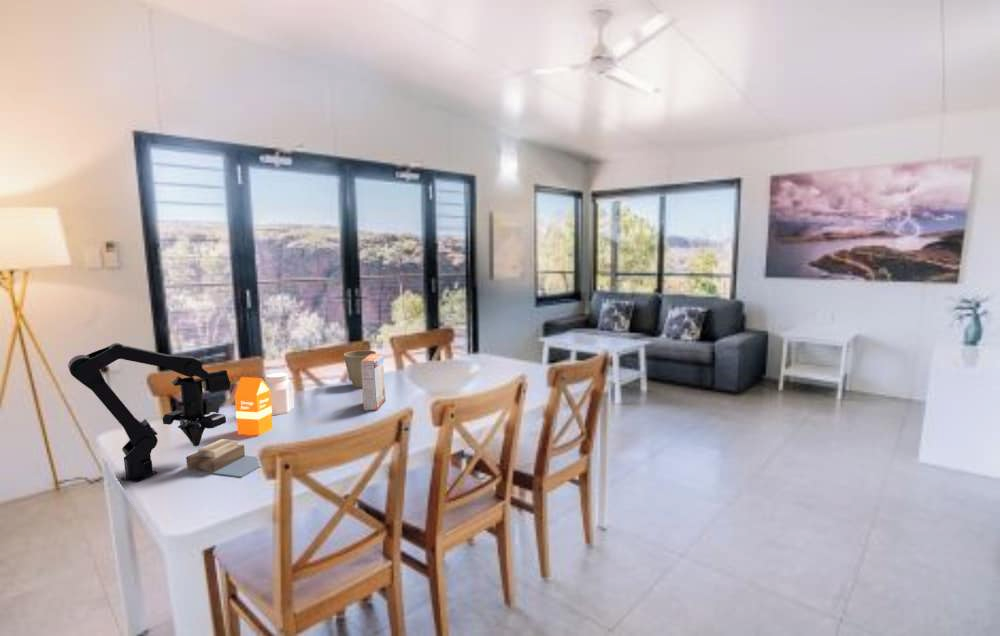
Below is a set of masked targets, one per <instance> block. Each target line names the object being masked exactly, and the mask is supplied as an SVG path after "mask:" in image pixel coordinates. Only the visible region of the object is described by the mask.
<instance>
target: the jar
mask: <svg viewBox="0 0 1000 636" xmlns="http://www.w3.org/2000/svg"><path fill="white" fill-rule="evenodd" d="M265 379H266V382H265V383H266V385H267V387H268V388H269V390H270V398H271V409H272V416H277V415H279V416H280V415H284V414H288V413H289V412H290V411H292V410H294V409H295V402H294V401H295V399H294V384H293V382H292V381H291V380H289V374H288V372H274V373H269V374H267V375H266V376H265Z"/></svg>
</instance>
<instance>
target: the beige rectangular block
mask: <svg viewBox="0 0 1000 636" xmlns="http://www.w3.org/2000/svg"><path fill="white" fill-rule="evenodd" d="M238 445H239V444H238V440H234V439H233V440H232V439H226V438H224V439H223V438H221V439H219V440H217V441H214V442H212V443H209V444H207V445H206V446H204V447H201V448H198V450H197V452H198V456H201V457H210V458H216V457H218V456H220V455H222V454H224V453H226V452H228V451H230V450H232V449H234V448H236V447H238Z"/></svg>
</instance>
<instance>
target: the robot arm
mask: <svg viewBox="0 0 1000 636" xmlns="http://www.w3.org/2000/svg"><path fill="white" fill-rule="evenodd" d="M118 360H124V361H129V362H130V361H131V362H135V363H138V364H139V363H140V364H145V365H150V366H153V367H154V366H156V367H160V368H164V369H167V370H170V371H172V372H175V373H177V374H179V375H182V376H185V377H180V376H179V375H177V376H176V378H175V379H174V380H172V381H171V384H172V385H173V386H175V387H178V386H180V398H181V401H179V402H178V403H177V404H178V406H181V408H182V410H180V409H179V410H174V411H171V412H168V413H166V414H164V415H163V417H162V425H169V426H170V425H172V424H173V422H175V421H176V422H177V421H178V422H179V425H178V426H177V428H178V429H180V430H181V431H182V432H183V433H184V434H185V436H186V437H187V438H188V440H189V441H190V442H191V444H192V445H193V446H194V447H199V446H200V443H201V441H202V438H203V433H204V432H205V430H206V429H214V428H216V427H219V426H221V425H223V424H226V423H227V419H226V415H224V413H219V412H220V407H221V403H220V402H219V403H217V402H209V401H208V398H207V397H204V392H207V393H208V394H209V395H212V394H217V393H223V392H228V391H229V392H230V390H231V386H232V385H231V380H230V377H229V375H228V370H226V369H220V370H217V371H207V370H205V369H204V368H203V363H202V361H200V359H198V358H196V357H195V356H192V355H189V354H187V355H186V354H167V353H161V352H156V351H152V350H147V349H144V348H143V349H142V348H140V347H134V346H130V345H125V344H121V343H120V342H119V343H118V342H114V343H112V344H110V345H108V346H106V347H104V348H101V349H99V350H95V351H93V352H90V353H88V354H86V355H85V354H78V355H76V356H74V357H73V358H71V359H70V360H69V361H68V364H67V368H68V371H69V373H70V374H71V377H73V378H75V380H77V381H78V382H79V383H81V384H83V386H84V387H86V388H87V389H89V390H90V391H92V392H93V394H94V395H95V396H96V397H97V398H98V400H99V401H100V402H101V403H102V404H103V406H104V407H105V408H106V409H107V410H108V411H109V412H110V414H111V415H112V416H113V417H114V418H115V420H117V422H118V423H119V424H120V425H121V426H122V428H123V430H124V431H125V434H126V436H127V437H128V439H129V440H128V441H127V442H126V443H125V444H124V445H123V446H122V452H123V454H124V455H125V456H123V461H124V463H123V464H124V471H125V475H124V476H122V477H120V480H121V481H129V482H134V483H136V482H137V483H138V482H140V481H143V480H145V479H147V478H149V477H151V476H153V475H155V474H158V470H153V461H152V458H151V457H152V456H151V454H152V450H154V449H155V448H156V446H157V445H158V438H157V435H158V433H157V431H156V430H155V428H153V427H152V426H151V425H150V423H149V422H148V420H147V419H146V418H145V419H143V420H142V421H141V420H139V419H137V417H135V415H134V414H132V412H131V411H130V410H129V408H128V407H127V406H126V404H125V403H123V401H122V400H121V399H120V398H119V397H118V395H117V394H116V393H115V391H114V390H113V389H112V388H111V387H110V385H109V384H108V383H107V382H106V380H105V378H104V376H103V374H102V372H101V369H103V368H105V367H107V366H109V365H111V364H112V363H114V362H116V361H118ZM194 377H198V378H194ZM203 390H204V391H203ZM211 413H212V414H211Z"/></svg>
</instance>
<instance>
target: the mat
mask: <svg viewBox="0 0 1000 636" xmlns="http://www.w3.org/2000/svg"><path fill="white" fill-rule="evenodd" d="M257 457H258V456H251V455H245V456H244V457H242V458H241V459H239V460H237V461H235V462H233V463H231V464H229V465H227V466H225V467H223V468H222V469H220V470H218V471H216V472H214V473H212V474H213V475H218V476H225V477H234V478H244V477H245V476H247V475H250V473H253V472H254V471H256V470H257V469H260V468H261V467H260V466H259V463H258V459H257Z"/></svg>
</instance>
